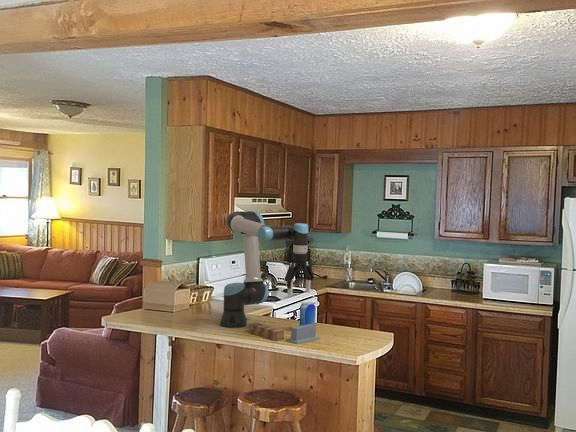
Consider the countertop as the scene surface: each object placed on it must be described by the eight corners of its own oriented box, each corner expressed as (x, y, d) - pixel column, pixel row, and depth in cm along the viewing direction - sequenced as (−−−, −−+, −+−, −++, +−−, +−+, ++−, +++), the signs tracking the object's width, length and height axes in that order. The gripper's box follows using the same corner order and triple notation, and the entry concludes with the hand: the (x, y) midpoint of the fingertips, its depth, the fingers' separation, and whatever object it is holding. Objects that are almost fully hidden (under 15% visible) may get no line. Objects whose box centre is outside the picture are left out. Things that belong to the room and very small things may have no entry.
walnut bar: (248, 332, 319) (248, 323, 318) (255, 331, 322) (255, 322, 322) (276, 341, 300) (276, 332, 300) (284, 340, 304) (284, 330, 304)
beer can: (305, 329, 329) (306, 300, 328) (317, 331, 323) (318, 302, 323) (296, 331, 322) (297, 302, 322) (308, 334, 317) (309, 304, 316)
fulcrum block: (286, 341, 301) (287, 327, 301) (308, 336, 312) (309, 322, 312) (297, 344, 295) (298, 329, 295) (319, 339, 306) (320, 325, 306)
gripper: (288, 255, 297) (287, 297, 298) (321, 252, 315) (320, 292, 316) (278, 253, 302) (276, 294, 303) (311, 251, 320) (309, 290, 321)
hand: (299, 293), depth 309 cm, fingers open, 13 cm apart
